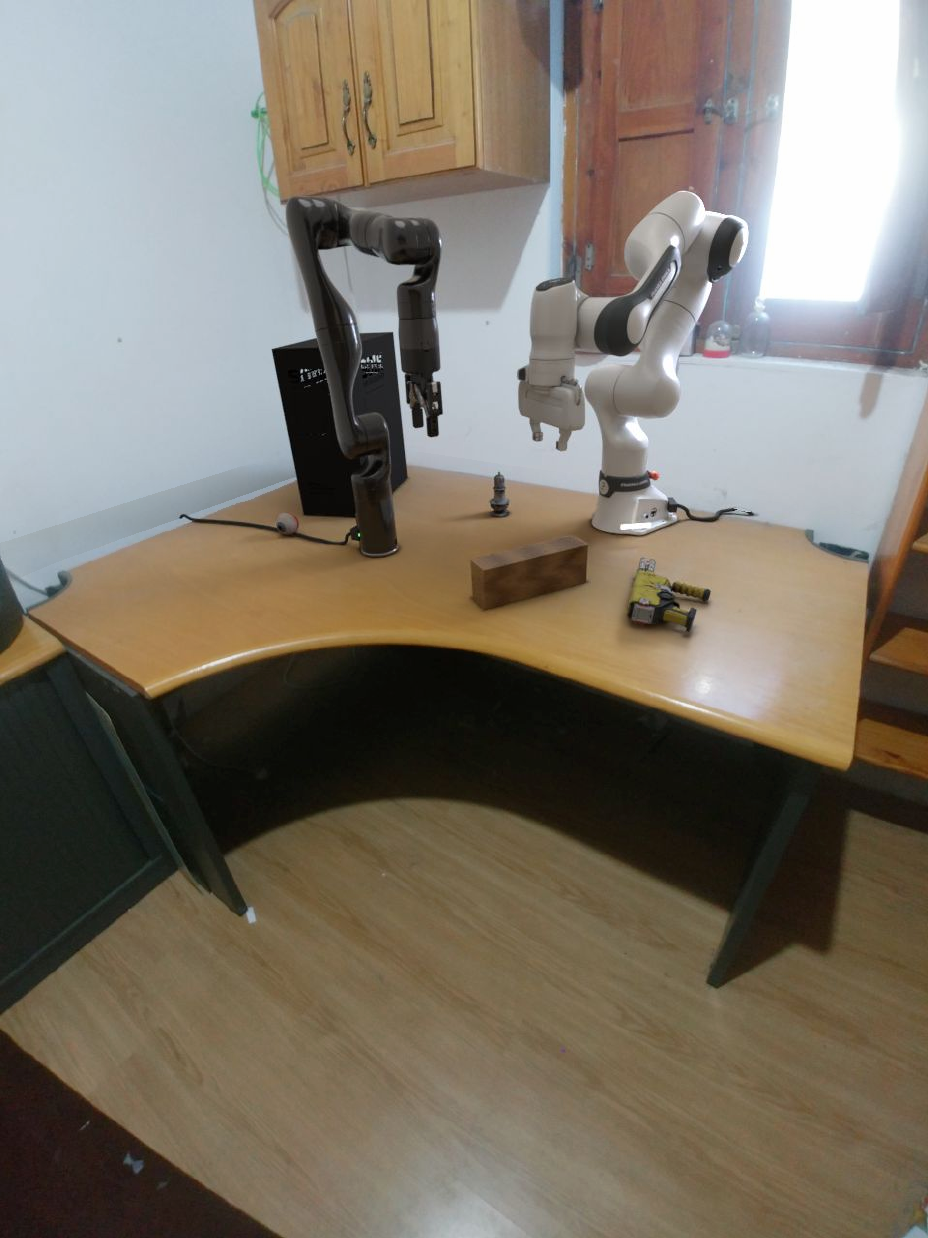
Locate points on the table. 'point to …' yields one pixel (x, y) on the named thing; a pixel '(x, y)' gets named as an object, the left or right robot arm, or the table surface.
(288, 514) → the eyeball
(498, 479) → the grey chess piece
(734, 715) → the table surface
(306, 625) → the table surface
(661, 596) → the toy gun
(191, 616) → the table surface
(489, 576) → the box
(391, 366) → the cardboard box
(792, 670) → the table surface
